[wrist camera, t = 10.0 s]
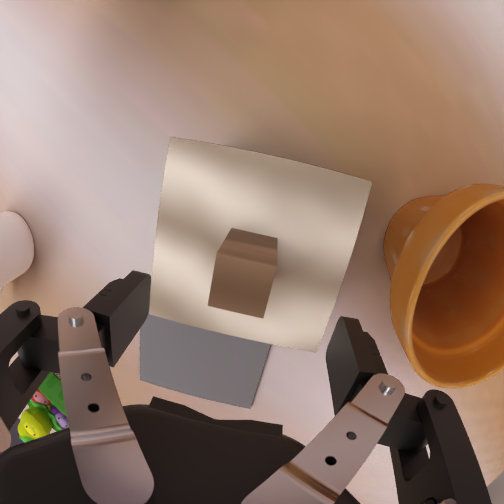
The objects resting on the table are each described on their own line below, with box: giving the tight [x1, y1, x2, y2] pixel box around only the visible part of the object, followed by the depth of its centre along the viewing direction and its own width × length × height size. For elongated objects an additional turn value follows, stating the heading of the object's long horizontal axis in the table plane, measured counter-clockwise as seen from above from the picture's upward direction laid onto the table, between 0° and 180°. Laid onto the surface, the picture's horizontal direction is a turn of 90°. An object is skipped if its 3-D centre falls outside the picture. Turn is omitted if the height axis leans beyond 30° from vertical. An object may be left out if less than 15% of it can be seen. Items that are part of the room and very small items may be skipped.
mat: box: [140, 287, 271, 409], centre depth 32 cm, size 14×14×1 cm
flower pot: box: [384, 184, 504, 388], centre depth 21 cm, size 14×14×13 cm
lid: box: [149, 137, 372, 352], centre depth 18 cm, size 13×13×6 cm
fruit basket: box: [18, 372, 69, 443], centre depth 34 cm, size 11×9×11 cm
